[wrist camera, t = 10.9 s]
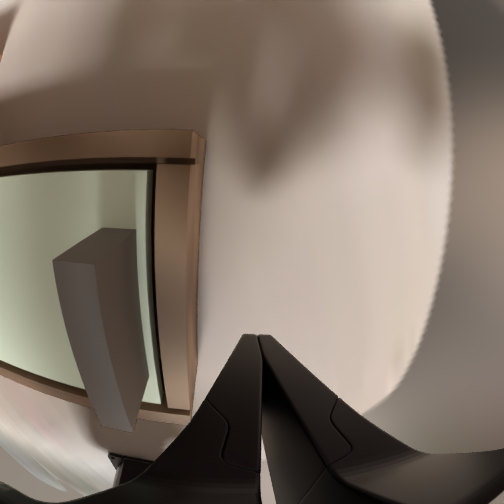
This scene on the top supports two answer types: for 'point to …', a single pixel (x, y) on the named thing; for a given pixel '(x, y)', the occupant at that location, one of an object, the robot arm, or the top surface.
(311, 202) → the top surface
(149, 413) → the open box
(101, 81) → the top surface
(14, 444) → the top surface
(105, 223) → the lid
